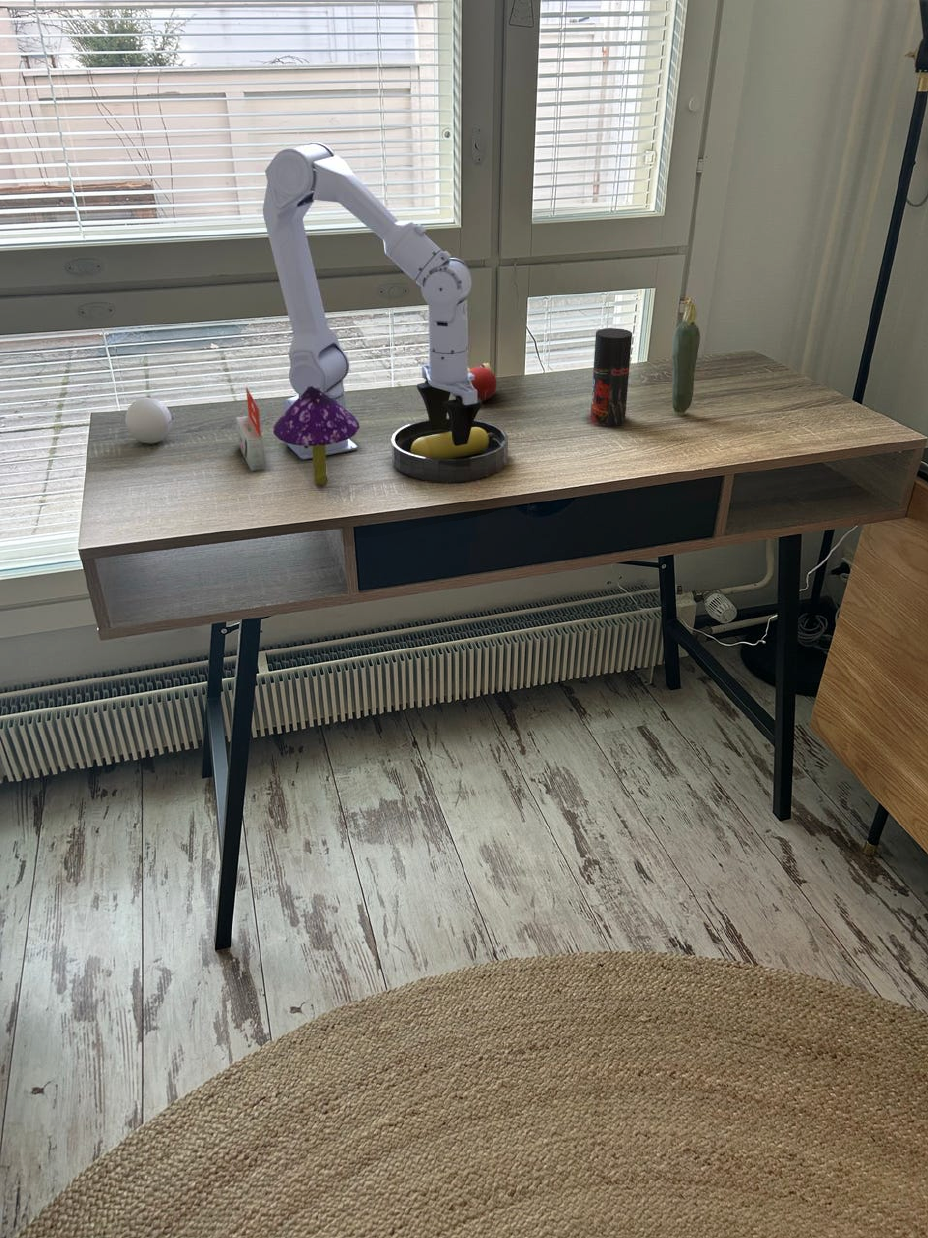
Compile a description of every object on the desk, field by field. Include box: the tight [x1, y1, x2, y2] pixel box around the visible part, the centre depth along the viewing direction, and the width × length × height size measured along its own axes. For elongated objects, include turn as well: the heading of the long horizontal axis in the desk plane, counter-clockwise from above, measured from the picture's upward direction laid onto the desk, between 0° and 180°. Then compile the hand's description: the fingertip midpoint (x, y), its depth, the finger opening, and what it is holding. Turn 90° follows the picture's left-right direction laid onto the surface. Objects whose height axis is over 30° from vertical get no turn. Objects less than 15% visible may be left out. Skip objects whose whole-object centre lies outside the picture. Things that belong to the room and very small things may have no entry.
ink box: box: [235, 387, 266, 472], centre depth 149 cm, size 2×11×10 cm, turn 21°
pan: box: [390, 417, 509, 484], centre depth 149 cm, size 18×18×4 cm
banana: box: [411, 427, 494, 459], centre depth 149 cm, size 14×4×4 cm, turn 118°
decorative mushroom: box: [272, 386, 361, 486], centre depth 139 cm, size 12×12×15 cm
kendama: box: [468, 362, 497, 402], centre depth 178 cm, size 8×6×18 cm
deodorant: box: [589, 327, 633, 428], centre depth 161 cm, size 6×6×15 cm
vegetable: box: [671, 296, 701, 416], centre depth 161 cm, size 4×4×20 cm
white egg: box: [124, 397, 174, 445], centre depth 157 cm, size 10×7×7 cm
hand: (449, 435), depth 148 cm, fingers open, 7 cm apart
